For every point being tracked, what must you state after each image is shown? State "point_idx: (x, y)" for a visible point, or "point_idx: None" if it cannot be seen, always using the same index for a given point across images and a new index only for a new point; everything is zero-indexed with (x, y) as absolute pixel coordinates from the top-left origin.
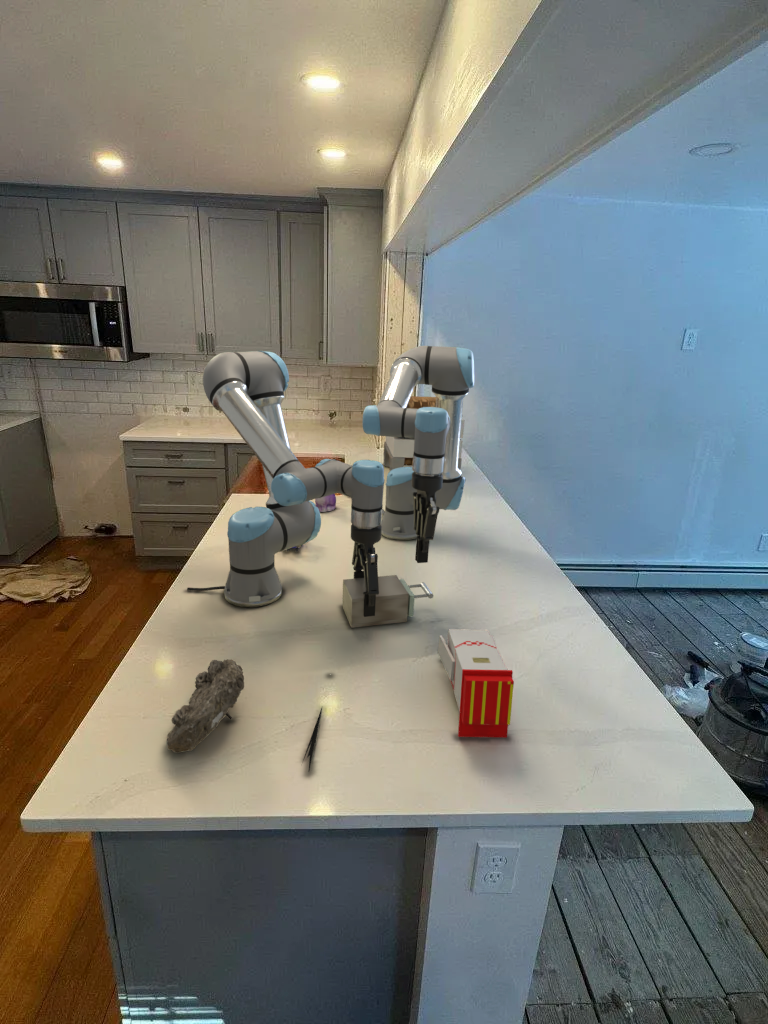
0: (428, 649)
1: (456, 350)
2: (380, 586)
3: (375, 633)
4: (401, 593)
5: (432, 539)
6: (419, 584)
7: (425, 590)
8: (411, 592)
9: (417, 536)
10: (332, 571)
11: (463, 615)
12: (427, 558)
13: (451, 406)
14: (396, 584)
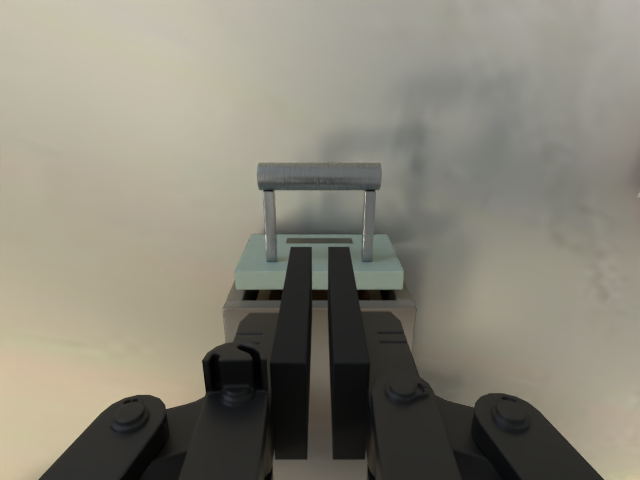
0: (570, 237)
1: None
2: (324, 395)
3: (429, 356)
4: (405, 335)
5: (526, 412)
6: (266, 195)
7: (334, 189)
8: (375, 276)
9: (278, 454)
10: (4, 394)
11: (407, 11)
12: (350, 262)
13: None
14: (318, 332)
